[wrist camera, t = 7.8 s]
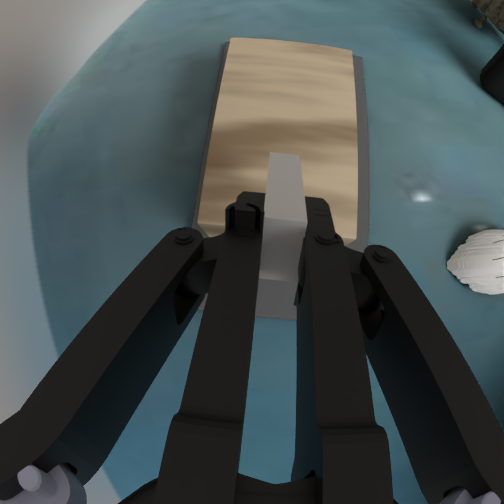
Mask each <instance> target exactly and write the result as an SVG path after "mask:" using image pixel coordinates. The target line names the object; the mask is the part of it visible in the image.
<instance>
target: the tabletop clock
mask: <svg viewBox="0 0 504 504" xmlns="http://www.w3.org/2000/svg"><path fill="white" fill-rule="evenodd" d="M472 4H473V6H474V7H476V8H479V9H480V10H481V11H482V13H483V14H484V15H483V16H482V18H481V19H475V20H474V25H475V26H476V27H477V28H482V27H483V21H484V20H486V19H487V18H488V19H489V20H490V21H491V22H492V23H493V24H494V25H495V27H496V28H497V29H498V30H499V31H500V32H501V33H503V34H504V0H473V1H472Z"/></svg>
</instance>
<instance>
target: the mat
mask: <svg viewBox="0 0 504 504" xmlns="http://www.w3.org/2000/svg"><path fill="white" fill-rule="evenodd" d="M229 44H230V42H226V44H225V48H224V53H223V57H222V62H221V66H220V71H219V75H218V80H217V85H216V90H215V94H214V99H213V104H212V109H211V115H210V120H209V125H208V130H207V136H206V141H205V147H204V152H203V158H202V164H201V170H200V176H199V182H198V189H197V195H196V201H195V208H194V215H193V222H192V228H194V229H196V230H199V231H200V232H201V233H202V236H203V238H207V237H209V236H208V235H207V234H206V233H205V232H204V230H203V229H202V228H201V227H200V226H199V224H198V223H197V222H198V215H199V208H200V201H201V194H202V188H203V181H204V175H205V169H206V163H207V157H208V151H209V145H210V139H211V134H212V128H213V123H214V117H215V112H216V107H217V101H218V96H219V91H220V86H221V81H222V76H223V72H224V67H225V62H226V57H227V53H228V48H229ZM352 57H353V68H354V81H355V96H356V114H357V142H358V207H357V236H356V240H354V241H353V242H351V243H349V244H348V245H346V247H348V248H350V249H353V250H356V251H359V252H362V253H364V249H365V248H366V247H367V246H368V238H369V142H368V122H367V106H366V93H365V82H364V72H363V63H362V57H358V56H353V55H352ZM297 285H298V277H297V282H290V281H279V280H269V279H259V281H258V291H257V301H256V311H255V316H256V317H266V318H276V319H287V320H297V308H296V306H294V300H295V295H296V290H297ZM207 296H208V293H206V295H205V298H204V300H203V301H202V303H201V305H200V306H199V308H198V309H197V310H204V307H205V303H206V300H207Z"/></svg>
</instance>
